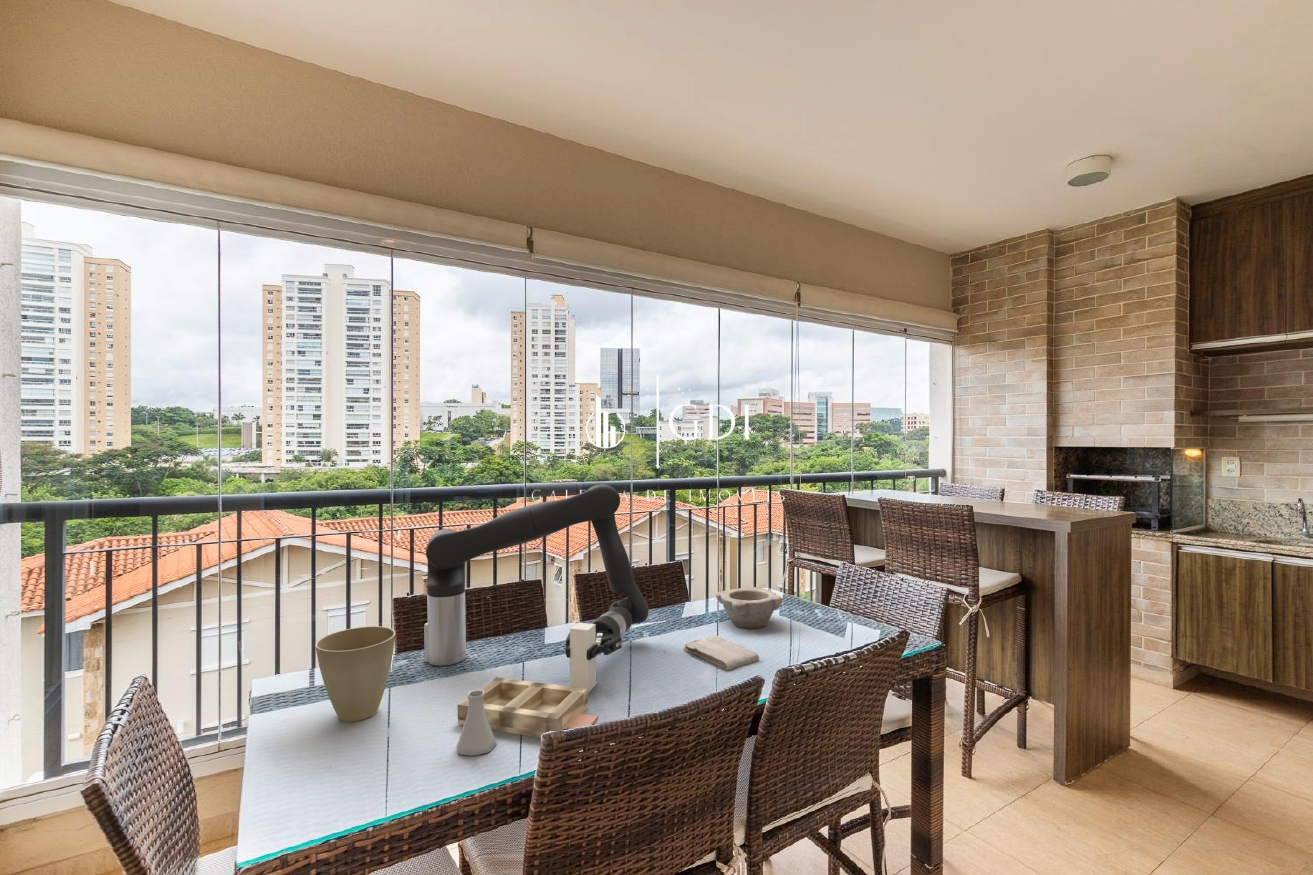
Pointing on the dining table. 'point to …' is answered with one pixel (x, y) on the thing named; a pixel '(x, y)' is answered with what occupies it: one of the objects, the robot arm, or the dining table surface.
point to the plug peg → (582, 656)
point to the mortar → (749, 606)
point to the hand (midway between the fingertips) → (578, 654)
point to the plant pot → (356, 669)
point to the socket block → (531, 707)
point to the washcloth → (721, 652)
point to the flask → (476, 728)
